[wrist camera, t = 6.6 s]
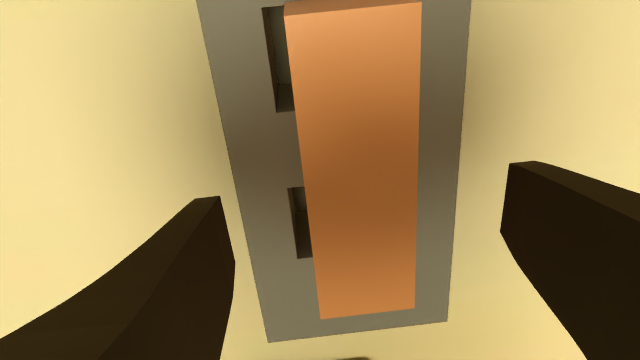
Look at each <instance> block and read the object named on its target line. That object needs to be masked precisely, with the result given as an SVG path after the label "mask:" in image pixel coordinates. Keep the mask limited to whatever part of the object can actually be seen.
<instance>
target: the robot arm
mask: <svg viewBox="0 0 640 360" xmlns="http://www.w3.org/2000/svg"><path fill="white" fill-rule="evenodd" d="M500 233H501V235H502V236H503V238H504V240H505V242H506V244H507V246H508V248H509V250H510V252H511V254H512V255H513V257H514V259H515V261H516V263H517V264H518V266H519V267H520V268H521V270H522V271H523V273H524V274H525V275H526V277H527V278H528V279H529V281H530V282H531V284H532V285H533V286H534V288H535V289H536V290H537V292H538V293H539V294H540V296H541V297H542V298H543V300H544V301H545V302H546V304H547V305H548V306H549V307H550V309H551V310H552V311H553V313H554V314H555V315H556V317H557V318H558V319H559V321H560V322H561V323H562V325H563V326H564V327H565V329H566V330H567V331H568V333H569V334H570V335H571V337H572V338H573V339H574V341H575V342H576V344H577V345H578V347H579V348H580V350H581V351H582V352H583V354H584V355H585V357H586V359H587V360H640V194H639V193H636V192H633V191H630V190H627V189H624V188H620V187H617V186H614V185H611V184H608V183H605V182H602V181H600V180H597V179H594V178H591V177H588V176H585V175H582V174H579V173H576V172H573V171H570V170H567V169H563V168H560V167H557V166H554V165H550V164H546V163H542V162H537V161H527V162H518V163H509V169H508V176H507V184H506V191H505V199H504V206H503V214H502V221H501V229H500ZM234 275H235V259H234V255H233V250H232V246H231V242H230V237H229V233H228V229H227V224H226V220H225V216H224V211H223V207H222V203H221V198H220V196H214V197H206V198H197V199H194V200H193V201H191V202H190V203H189V204H188V205H186V206H185V207H184V208H183V209H182V210H181V211H180V212H178V213H177V214H176V215H175V216H174V217H173V218H172V219H171V220H170V221H168V222H167V223H166V224H165V225H164V226H163V227H162V228H161V229H159V230H158V231H157V232H156V233H155V234H154V235H153V236H152V237H150V238H149V239H148V240H147V241H146V242H145V243H143V244H142V245H141V246H140V247H138V248H137V249H136V250H135V251H134V252H132V253H131V254H130V255H129V256H127V257H126V258H125V259H124V260H122V261H121V262H120V263H119V264H117V265H116V266H115V267H114V268H112V269H111V270H110V271H108V272H107V273H106V274H104V275H103V276H102V277H100V278H99V279H97V280H96V281H95V282H93V283H92V284H90V285H89V286H87V287H86V288H84V289H83V290H81V291H80V292H78V293H77V294H75V295H74V296H72V297H71V298H69V299H68V300H66V301H65V302H63V303H61V304H60V305H58V306H56V307H55V308H53V309H51V310H50V311H48V312H46V313H44V314H43V315H41V316H39V317H38V318H36V319H34V320H32V321H31V322H29V323H27V324H26V325H24V326H22V327H20V328H19V329H17V330H15V331H14V332H12V333H10V334H8V335H6V336H4V337H3V338H1V339H0V360H220V356H221V351H222V347H223V342H224V337H225V333H226V328H227V323H228V319H229V314H230V309H231V304H232V299H233V289H234Z"/></svg>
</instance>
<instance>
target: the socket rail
mask: <svg viewBox="0 0 640 360" xmlns="http://www.w3.org/2000/svg"><path fill="white" fill-rule="evenodd" d="M292 1H302V0H196V2H197V7H198V12H199V16H200V21H201V26H202V31H203V36H204V40H205V45H206V50H207V55H208V59H209V64H210V69H211V74H212V78H213V83H214V88H215V93H216V97H217V102H218V107H219V112H220V116H221V121H222V126H223V131H224V136H225V140H226V145H227V150H228V155H229V159H230V164H231V169H232V174H233V178H234V183H235V188H236V193H237V197H238V202H239V207H240V212H241V216H242V221H243V226H244V231H245V236H246V240H247V245H248V250H249V255H250V259H251V264H252V269H253V274H254V278H255V283H256V288H257V293H258V297H259V302H260V307H261V312H262V316H263V321H264V326H265V331H266V336H267V340H268V343H271V342H279V341H288V340H296V339H304V338H313V337H321V336H330V335H338V334H346V333H355V332H363V331H372V330H380V329H388V328H397V327H405V326H414V325H422V324H430V323H439V322H447V318H448V305H449V291H450V278H451V264H452V251H453V237H454V224H455V210H456V197H457V184H458V170H459V157H460V143H461V130H462V116H463V103H464V90H465V76H466V63H467V49H468V36H469V22H470V9H471V0H417V1H421V2H422V13H421V55H420V98H419V141H418V184H417V227H416V270H415V308H413V309H404V310H396V311H388V312H379V313H371V314H362V315H354V316H345V317H337V318H328V319H320V311H319V302H318V294H317V286H316V278H315V270H314V261H313V253H312V245H311V237H310V228H309V220H308V212H307V211H300V212H296V211H295V203H294V196H293V189H292V187H301V186H304V179H303V171H302V162H301V154H300V146H299V138H298V129H297V121H296V113H295V105H294V97H293V88H292V84H284V85H278V79H277V72H276V65H275V57H274V50H273V43H272V35H271V28H270V21H269V14H268V7H272V6H282V5H284V4H285V2H292Z"/></svg>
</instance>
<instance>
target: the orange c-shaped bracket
mask: <svg viewBox="0 0 640 360" xmlns="http://www.w3.org/2000/svg"><path fill="white" fill-rule="evenodd" d="M421 13H422V2H421V1H417V0H302V1H292V2H285V4H284V22H285V31H286V39H287V47H288V55H289V64H290V72H291V80H292V88H293V97H294V105H295V113H296V121H297V129H298V138H299V146H300V154H301V162H302V171H303V179H304V187H305V195H306V204H307V212H308V220H309V228H310V237H311V245H312V253H313V261H314V270H315V278H316V286H317V294H318V302H319V311H320V319H328V318H337V317H345V316H354V315H362V314H371V313H379V312H388V311H396V310H404V309H413V308H415V270H416V227H417V184H418V141H419V98H420V55H421Z"/></svg>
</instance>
